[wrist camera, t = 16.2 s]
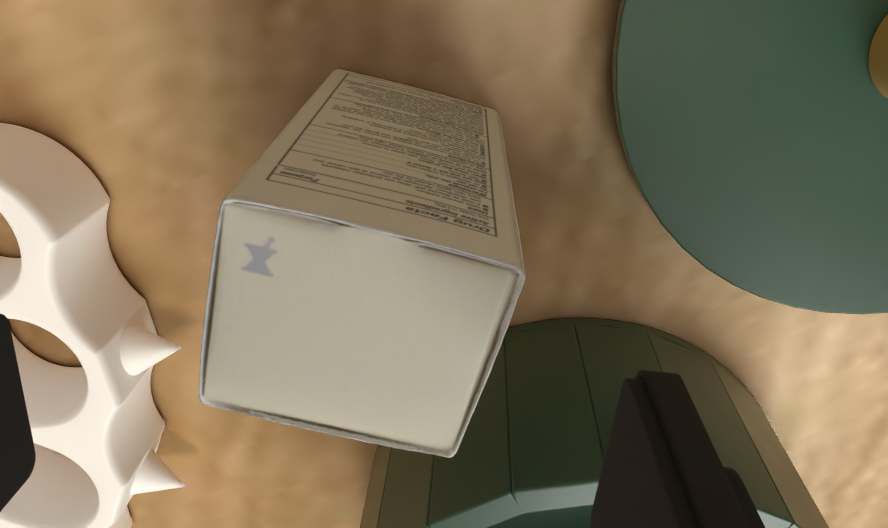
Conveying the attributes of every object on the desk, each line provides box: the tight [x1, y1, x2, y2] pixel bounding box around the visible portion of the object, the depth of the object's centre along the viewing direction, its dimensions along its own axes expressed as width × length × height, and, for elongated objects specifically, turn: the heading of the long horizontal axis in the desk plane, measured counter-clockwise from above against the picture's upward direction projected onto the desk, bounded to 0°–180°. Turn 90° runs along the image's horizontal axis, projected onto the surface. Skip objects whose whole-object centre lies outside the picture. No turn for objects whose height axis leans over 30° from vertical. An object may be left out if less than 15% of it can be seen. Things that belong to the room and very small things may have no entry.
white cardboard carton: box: [199, 69, 525, 458], centre depth 16 cm, size 5×4×10 cm
